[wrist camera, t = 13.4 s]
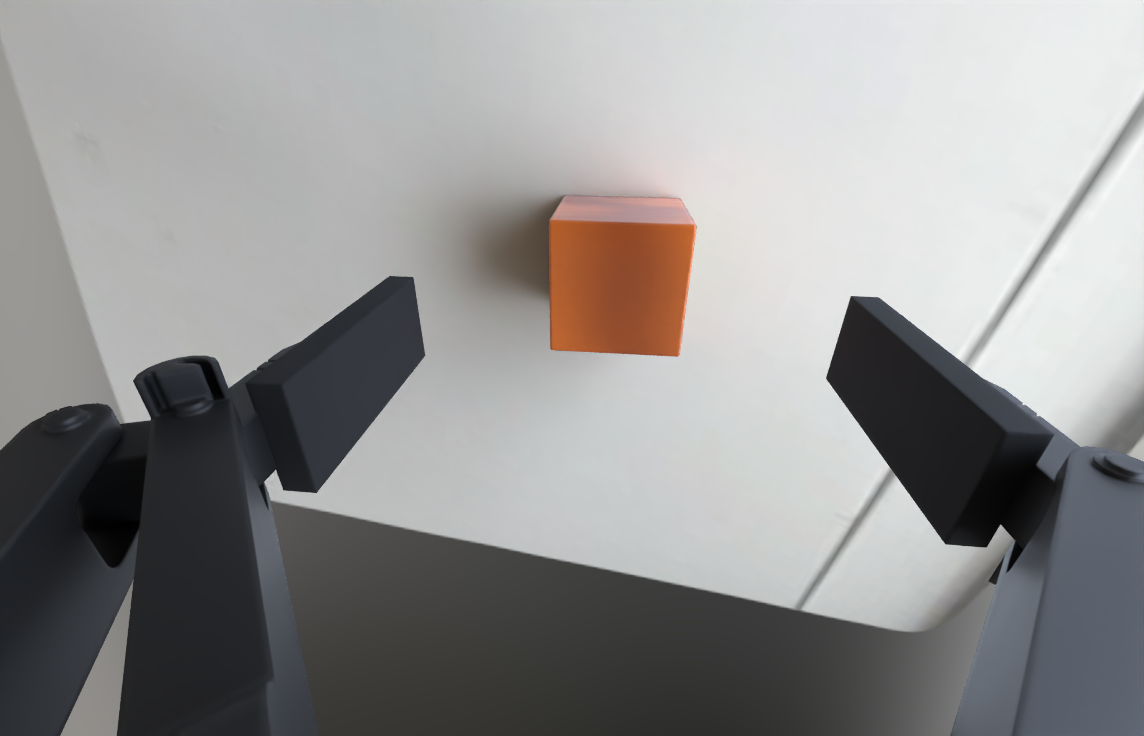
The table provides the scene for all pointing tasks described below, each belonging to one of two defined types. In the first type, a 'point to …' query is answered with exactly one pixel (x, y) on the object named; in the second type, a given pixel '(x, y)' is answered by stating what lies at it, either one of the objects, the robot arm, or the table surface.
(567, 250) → the block
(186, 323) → the table surface
